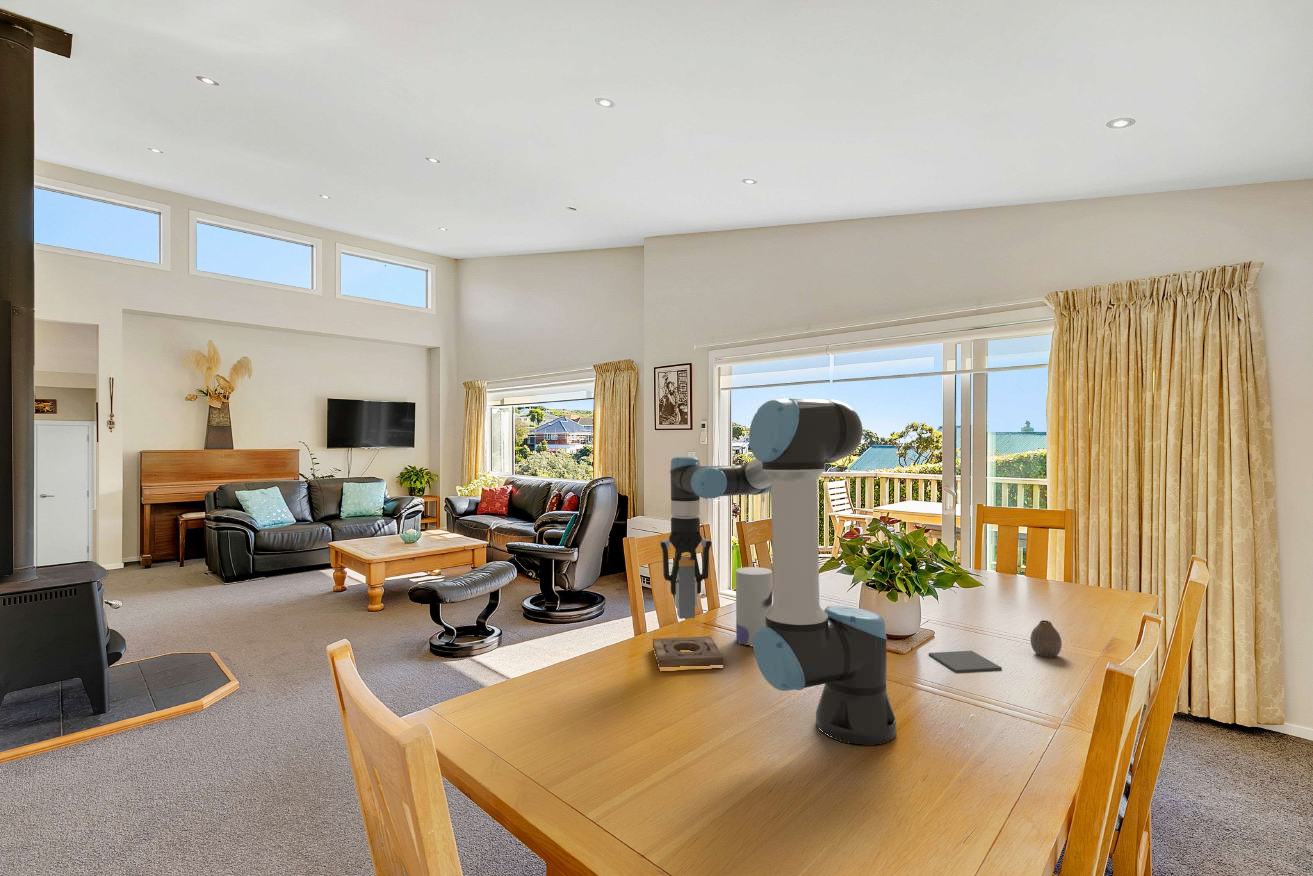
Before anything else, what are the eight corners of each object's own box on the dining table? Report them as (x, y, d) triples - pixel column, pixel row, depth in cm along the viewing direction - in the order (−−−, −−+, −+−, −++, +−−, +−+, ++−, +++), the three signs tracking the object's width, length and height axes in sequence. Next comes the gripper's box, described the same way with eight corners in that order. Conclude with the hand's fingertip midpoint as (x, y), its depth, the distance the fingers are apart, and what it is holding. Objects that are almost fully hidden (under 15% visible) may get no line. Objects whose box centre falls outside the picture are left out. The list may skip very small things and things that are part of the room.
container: (775, 647, 171) (774, 574, 170) (738, 647, 171) (737, 574, 171) (769, 635, 181) (768, 566, 180) (734, 635, 181) (734, 566, 181)
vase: (1052, 650, 166) (1052, 617, 166) (1067, 660, 159) (1067, 625, 159) (1025, 650, 167) (1025, 617, 167) (1038, 659, 160) (1038, 625, 160)
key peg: (695, 618, 161) (694, 559, 161) (679, 618, 160) (678, 560, 160) (692, 613, 165) (692, 556, 165) (677, 614, 164) (676, 557, 164)
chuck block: (723, 668, 155) (723, 656, 155) (659, 672, 154) (659, 659, 154) (710, 647, 171) (710, 636, 171) (652, 649, 169) (652, 638, 169)
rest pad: (1001, 669, 153) (1001, 667, 153) (955, 672, 152) (955, 669, 152) (971, 653, 165) (971, 650, 165) (928, 655, 163) (928, 652, 163)
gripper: (714, 513, 167) (715, 601, 167) (651, 515, 165) (651, 603, 165) (720, 517, 159) (721, 609, 160) (654, 519, 158) (654, 611, 158)
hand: (685, 606), depth 162 cm, fingers closed on key peg, 4 cm apart
